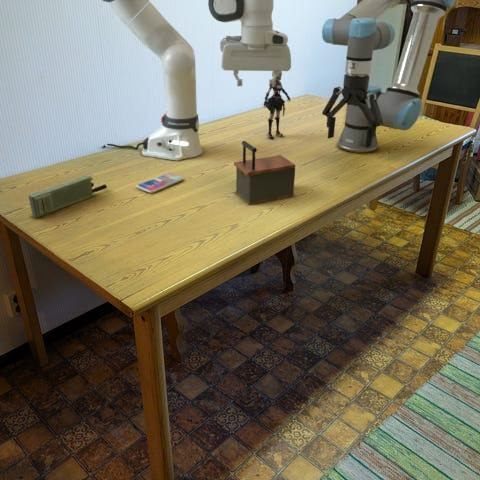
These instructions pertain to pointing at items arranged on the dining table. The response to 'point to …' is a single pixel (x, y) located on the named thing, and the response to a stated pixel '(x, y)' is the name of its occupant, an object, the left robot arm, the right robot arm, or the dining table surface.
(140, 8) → the left robot arm
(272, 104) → the figurine
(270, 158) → the lid
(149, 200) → the dining table surface
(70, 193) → the handheld radio
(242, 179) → the chest
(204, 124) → the dining table surface
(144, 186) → the smartphone
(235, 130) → the dining table surface
